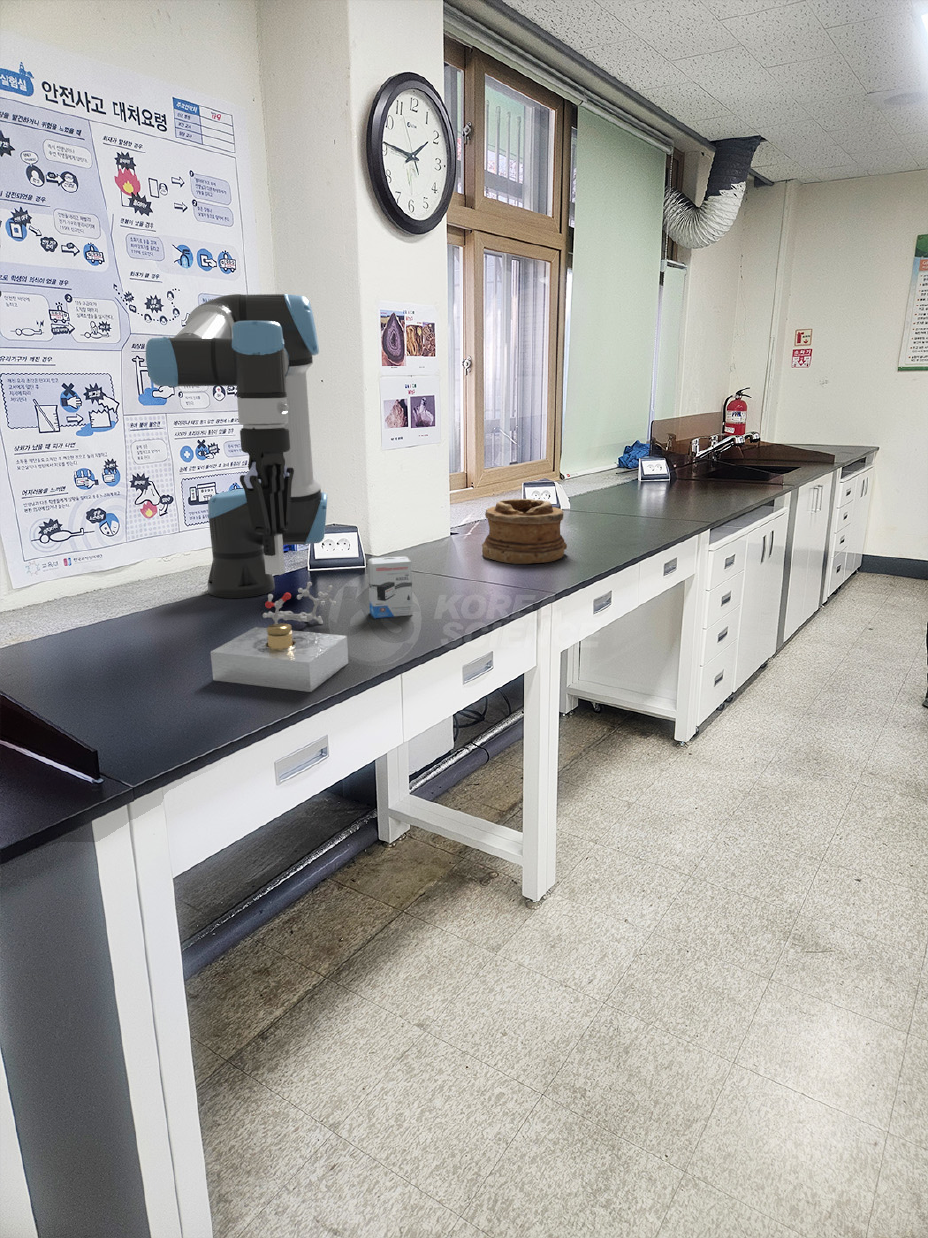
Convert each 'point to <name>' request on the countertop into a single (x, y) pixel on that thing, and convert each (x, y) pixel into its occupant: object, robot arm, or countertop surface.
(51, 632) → the countertop surface
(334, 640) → the plate
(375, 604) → the ink box
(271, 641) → the cylinder
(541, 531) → the container
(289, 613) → the molecular model
